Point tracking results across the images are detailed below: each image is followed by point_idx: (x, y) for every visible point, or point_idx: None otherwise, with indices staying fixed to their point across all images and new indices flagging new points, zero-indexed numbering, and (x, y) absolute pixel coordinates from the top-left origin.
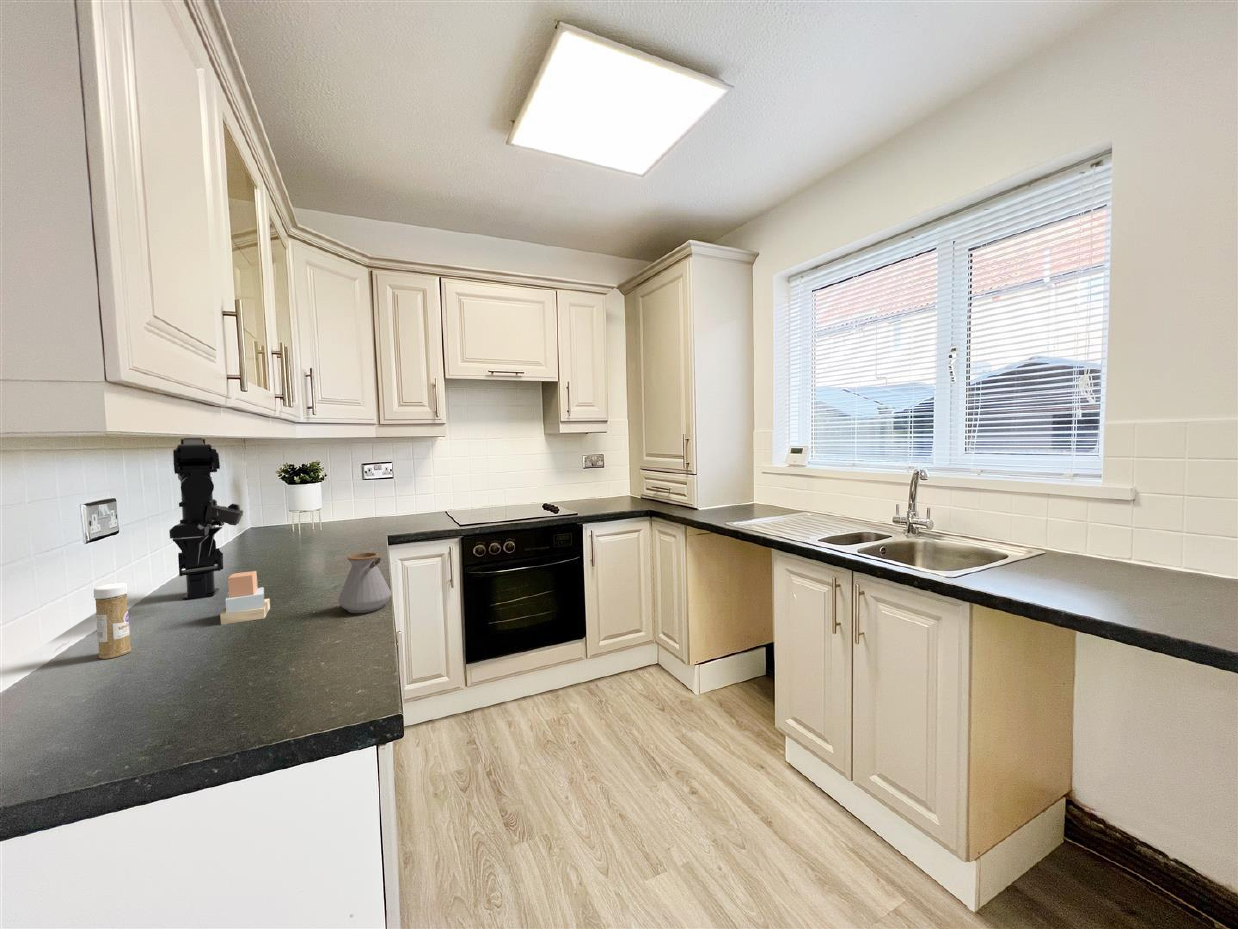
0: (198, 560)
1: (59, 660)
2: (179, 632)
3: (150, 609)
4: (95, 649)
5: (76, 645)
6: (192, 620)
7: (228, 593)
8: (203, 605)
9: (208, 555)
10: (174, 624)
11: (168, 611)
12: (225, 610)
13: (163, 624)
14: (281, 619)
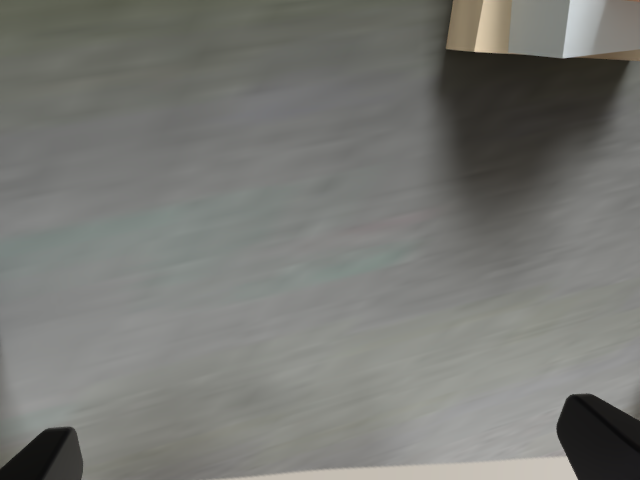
0: (635, 427)
1: None
2: (607, 213)
3: (130, 421)
4: None
5: (505, 458)
6: (450, 207)
7: (601, 42)
8: (166, 223)
9: (67, 444)
10: (465, 263)
11: (210, 346)
12: None
13: (433, 303)
14: None
